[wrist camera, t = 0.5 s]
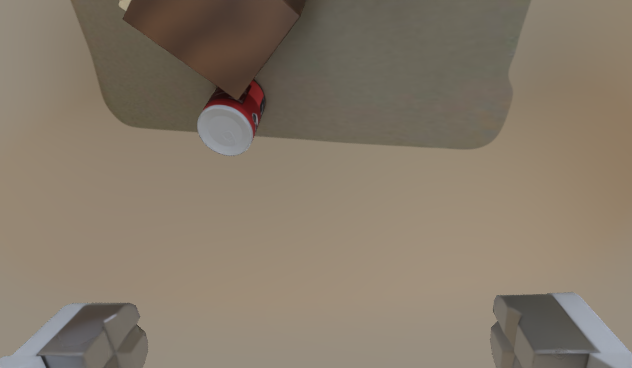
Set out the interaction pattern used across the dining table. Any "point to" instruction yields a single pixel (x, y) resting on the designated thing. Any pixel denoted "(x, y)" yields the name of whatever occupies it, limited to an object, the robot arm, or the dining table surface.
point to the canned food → (231, 120)
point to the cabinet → (217, 34)
